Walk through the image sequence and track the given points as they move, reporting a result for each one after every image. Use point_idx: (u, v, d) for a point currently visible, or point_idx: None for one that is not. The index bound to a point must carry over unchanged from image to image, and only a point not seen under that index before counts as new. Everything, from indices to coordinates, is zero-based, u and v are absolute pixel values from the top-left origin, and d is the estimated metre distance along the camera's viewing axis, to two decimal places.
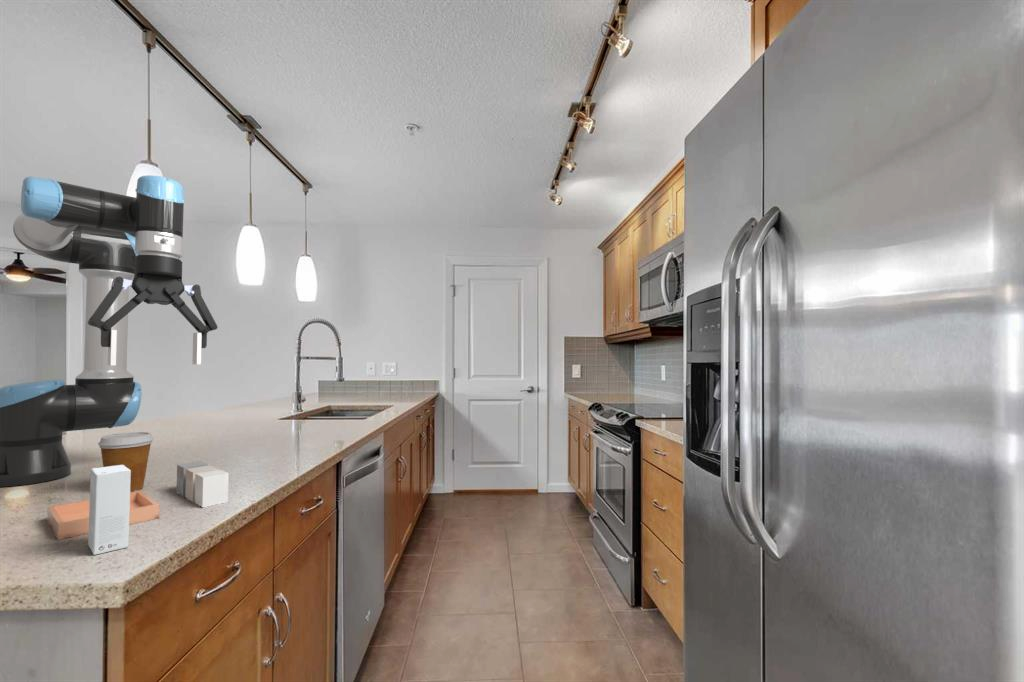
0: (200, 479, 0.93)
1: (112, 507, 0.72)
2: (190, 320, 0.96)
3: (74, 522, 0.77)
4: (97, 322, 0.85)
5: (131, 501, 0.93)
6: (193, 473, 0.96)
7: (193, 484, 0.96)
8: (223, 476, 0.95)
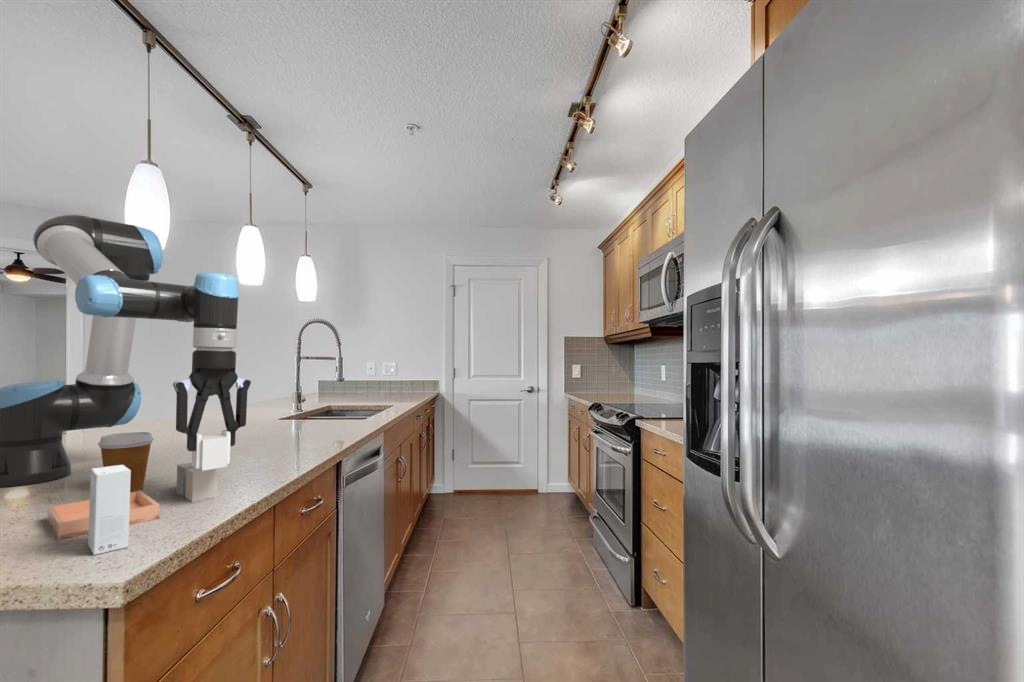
0: None
1: (112, 507, 0.72)
2: (225, 415, 0.97)
3: (74, 522, 0.77)
4: (185, 429, 0.91)
5: (131, 501, 0.93)
6: (193, 473, 0.96)
7: (193, 484, 0.96)
8: (222, 440, 0.95)
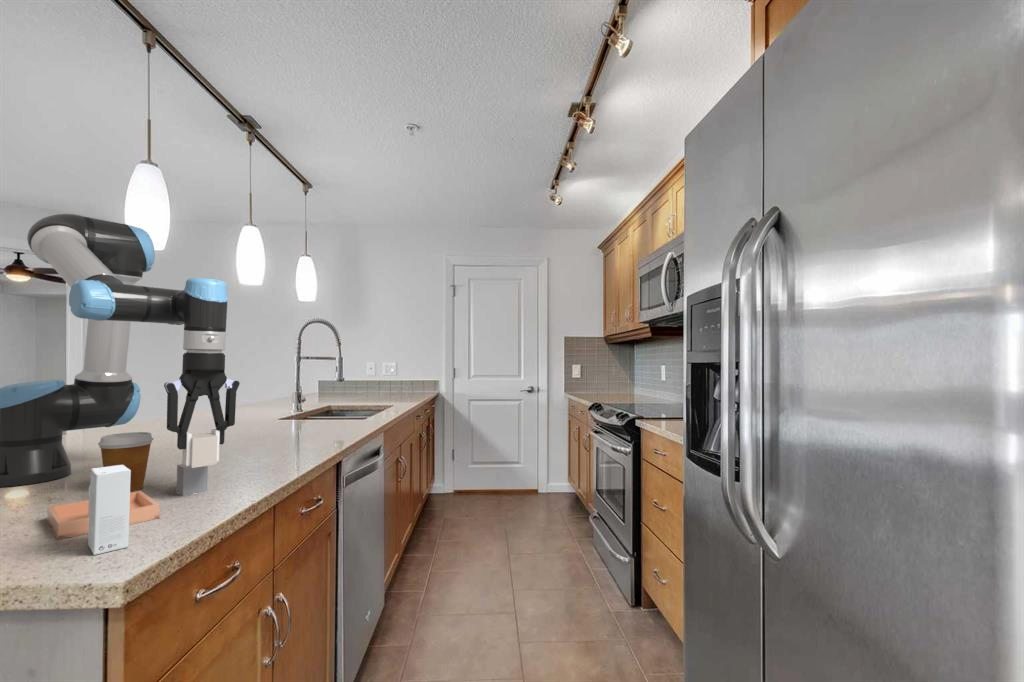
0: None
1: (112, 507, 0.72)
2: (215, 414, 1.01)
3: (74, 522, 0.77)
4: (176, 428, 0.95)
5: (131, 501, 0.93)
6: (193, 439, 0.96)
7: (193, 450, 0.96)
8: None
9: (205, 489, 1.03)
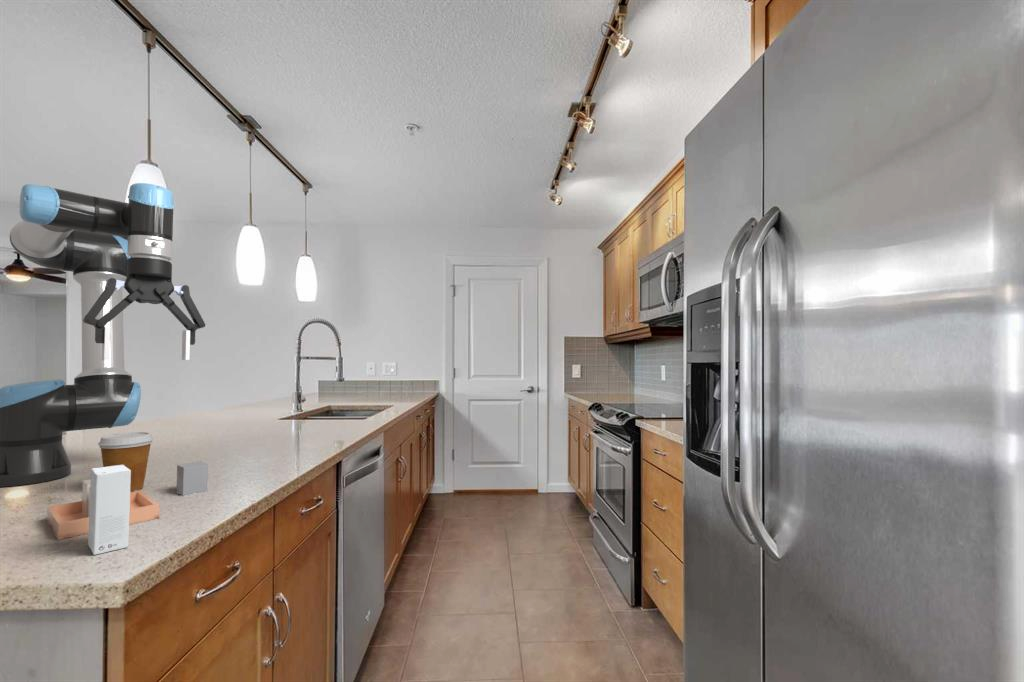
0: None
1: (112, 507, 0.72)
2: (179, 318, 1.03)
3: (74, 522, 0.77)
4: (92, 320, 0.91)
5: (131, 501, 0.93)
6: (88, 485, 0.84)
7: (87, 498, 0.84)
8: None
9: (205, 489, 1.03)
